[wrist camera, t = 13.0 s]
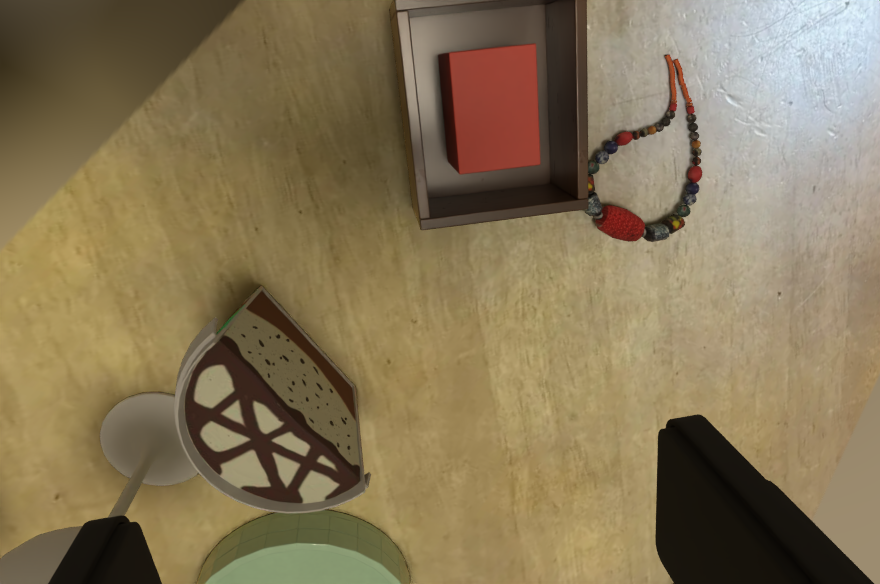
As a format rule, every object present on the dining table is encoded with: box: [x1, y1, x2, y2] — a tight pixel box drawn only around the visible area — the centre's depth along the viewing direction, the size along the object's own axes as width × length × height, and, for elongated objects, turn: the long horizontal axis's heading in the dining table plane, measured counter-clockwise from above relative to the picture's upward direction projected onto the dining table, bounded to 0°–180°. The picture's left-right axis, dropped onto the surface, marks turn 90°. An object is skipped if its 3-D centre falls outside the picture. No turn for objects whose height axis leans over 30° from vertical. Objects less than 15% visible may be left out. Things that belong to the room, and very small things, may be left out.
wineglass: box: [0, 392, 198, 584], centre depth 30 cm, size 8×8×21 cm
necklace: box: [584, 55, 702, 242], centre depth 37 cm, size 8×11×2 cm
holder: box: [389, 0, 589, 230], centre depth 33 cm, size 11×9×6 cm
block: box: [438, 43, 541, 175], centre depth 33 cm, size 6×4×4 cm
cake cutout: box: [174, 285, 371, 513], centre depth 35 cm, size 12×6×10 cm, turn 36°
